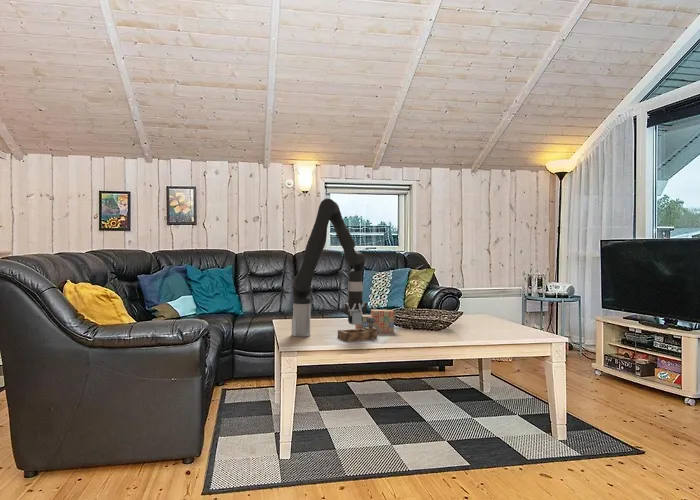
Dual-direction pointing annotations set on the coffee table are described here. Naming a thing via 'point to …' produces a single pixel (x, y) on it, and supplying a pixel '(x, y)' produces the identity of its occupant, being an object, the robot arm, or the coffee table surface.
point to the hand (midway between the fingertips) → (355, 322)
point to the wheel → (371, 319)
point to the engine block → (356, 318)
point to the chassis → (358, 333)
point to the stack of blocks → (379, 320)
